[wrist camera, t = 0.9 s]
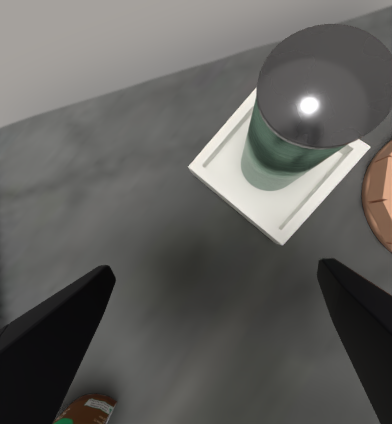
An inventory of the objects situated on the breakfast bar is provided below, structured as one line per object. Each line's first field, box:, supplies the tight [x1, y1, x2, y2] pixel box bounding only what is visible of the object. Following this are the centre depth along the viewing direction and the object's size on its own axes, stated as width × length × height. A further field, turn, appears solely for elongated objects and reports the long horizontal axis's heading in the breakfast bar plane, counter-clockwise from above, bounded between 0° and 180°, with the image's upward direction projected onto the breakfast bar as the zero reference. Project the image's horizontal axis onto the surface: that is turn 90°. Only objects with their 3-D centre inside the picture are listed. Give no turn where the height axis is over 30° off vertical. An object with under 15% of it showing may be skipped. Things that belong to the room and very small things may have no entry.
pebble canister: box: [241, 24, 392, 191], centre depth 14 cm, size 6×6×11 cm
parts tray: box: [188, 87, 370, 246], centre depth 20 cm, size 12×12×2 cm
